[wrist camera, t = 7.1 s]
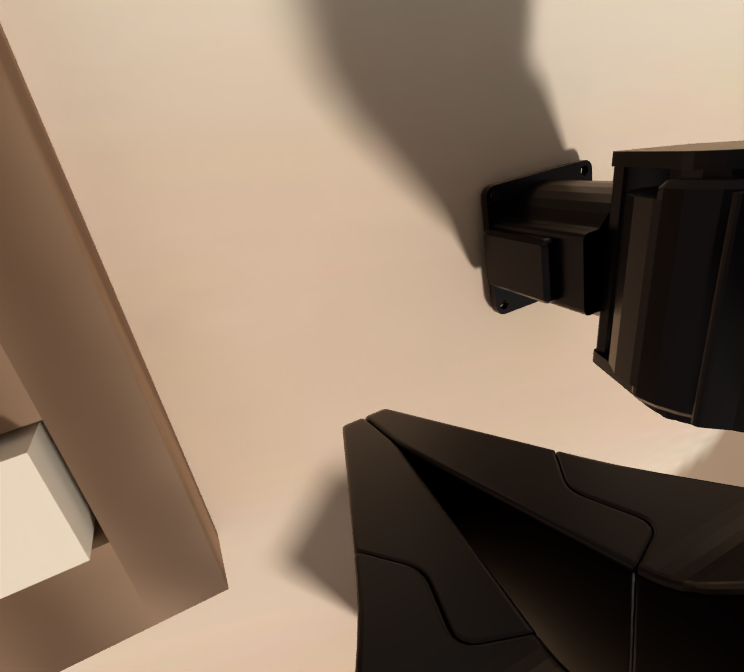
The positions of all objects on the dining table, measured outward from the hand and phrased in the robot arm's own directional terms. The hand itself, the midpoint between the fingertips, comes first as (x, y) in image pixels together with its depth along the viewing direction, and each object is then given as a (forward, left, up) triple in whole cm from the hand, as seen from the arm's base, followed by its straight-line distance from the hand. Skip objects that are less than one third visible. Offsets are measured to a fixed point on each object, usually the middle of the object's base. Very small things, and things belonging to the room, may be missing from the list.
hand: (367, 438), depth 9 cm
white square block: (+10, +4, -11) cm, 16 cm away
